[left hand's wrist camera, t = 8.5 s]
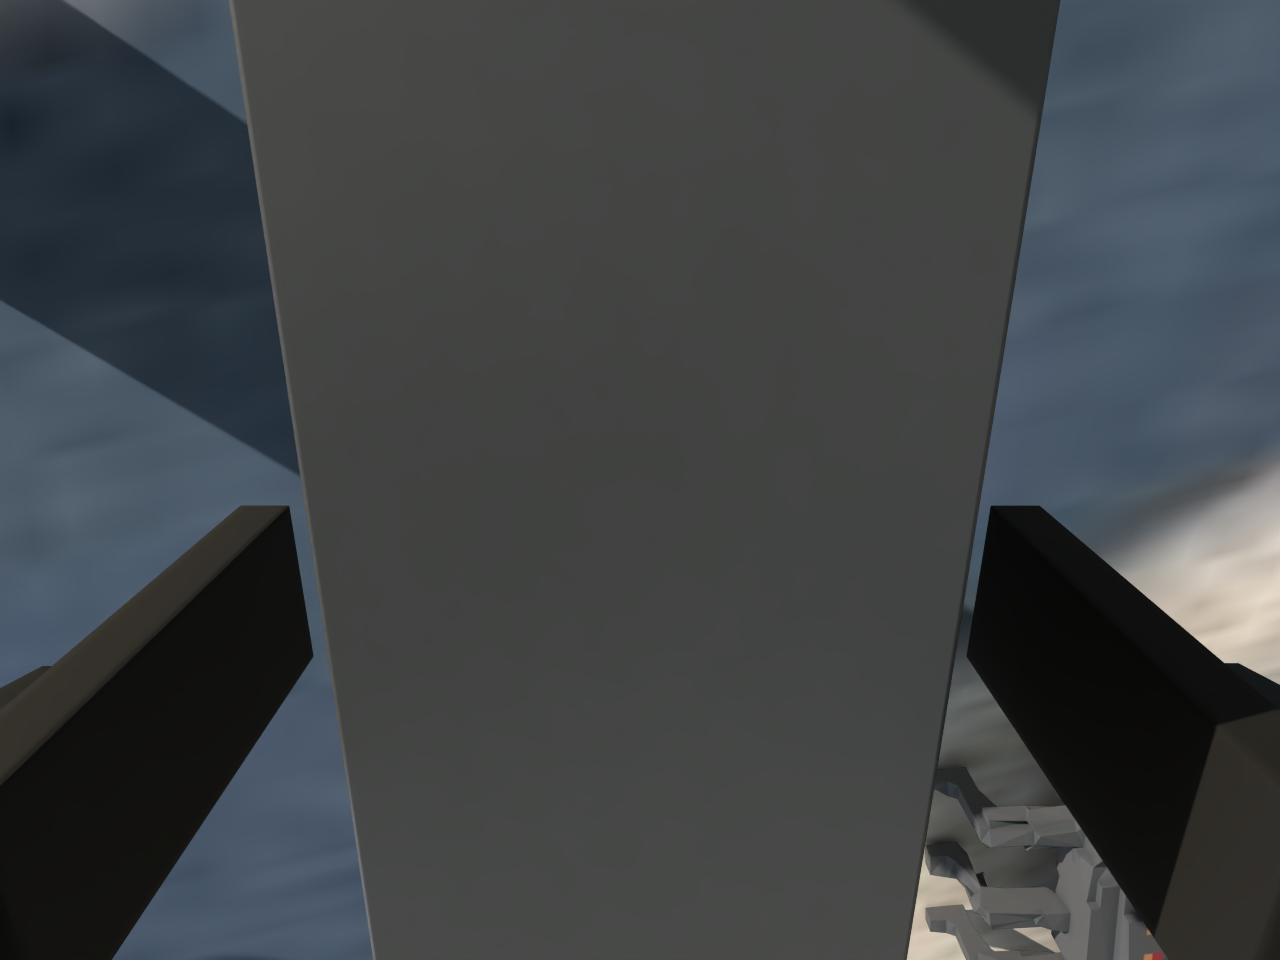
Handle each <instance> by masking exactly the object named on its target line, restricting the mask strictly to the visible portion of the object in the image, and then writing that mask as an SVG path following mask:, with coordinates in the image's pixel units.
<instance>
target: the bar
mask: <svg viewBox="0 0 1280 960" xmlns="http://www.w3.org/2000/svg"><path fill="white" fill-rule="evenodd" d="M1059 5H1060V0H229V6H230V12H231V19H232V26H233V32H234V39H235V46H236V52H237V59H238V65H239V72H240V79H241V85H242V92H243V99H244V105H245V112H246V118H247V125H248V132H249V138H250V145H251V152H252V158H253V165H254V171H255V178H256V185H257V191H258V198H259V205H260V211H261V218H262V224H263V231H264V238H265V244H266V251H267V258H268V264H269V271H270V278H271V284H272V291H273V297H274V304H275V311H276V317H277V324H278V331H279V337H280V344H281V350H282V357H283V364H284V370H285V377H286V384H287V390H288V397H289V403H290V410H291V417H292V423H293V430H294V437H295V443H296V450H297V456H298V463H299V470H300V476H301V483H302V490H303V496H304V503H305V509H306V516H307V523H308V529H309V536H310V543H311V549H312V556H313V563H314V569H315V576H316V582H317V589H318V596H319V602H320V609H321V616H322V622H323V629H324V635H325V642H326V649H327V655H328V662H329V669H330V675H331V682H332V688H333V695H334V702H335V708H336V715H337V722H338V728H339V735H340V741H341V748H342V755H343V761H344V768H345V775H346V781H347V788H348V794H349V801H350V808H351V814H352V821H353V828H354V834H355V841H356V848H357V854H358V861H359V867H360V874H361V881H362V887H363V894H364V901H365V907H366V914H367V920H368V927H369V934H370V940H371V947H372V954H373V960H907V954H908V948H909V941H910V935H911V929H912V923H913V916H914V910H915V904H916V898H917V891H918V885H919V879H920V873H921V866H922V860H923V854H924V848H925V841H926V835H927V829H928V823H929V816H930V810H931V804H932V798H933V792H934V785H935V779H936V773H937V767H938V760H939V754H940V748H941V742H942V735H943V729H944V723H945V717H946V710H947V704H948V698H949V692H950V685H951V679H952V673H953V667H954V660H955V654H956V648H957V642H958V635H959V629H960V623H961V617H962V610H963V604H964V598H965V592H966V585H967V579H968V573H969V567H970V560H971V554H972V548H973V542H974V535H975V529H976V523H977V517H978V511H979V504H980V498H981V492H982V486H983V479H984V473H985V467H986V461H987V454H988V448H989V442H990V436H991V429H992V423H993V417H994V411H995V404H996V398H997V392H998V386H999V379H1000V373H1001V367H1002V361H1003V354H1004V348H1005V342H1006V336H1007V329H1008V323H1009V317H1010V311H1011V304H1012V298H1013V292H1014V286H1015V279H1016V273H1017V267H1018V261H1019V254H1020V248H1021V242H1022V236H1023V230H1024V223H1025V217H1026V211H1027V205H1028V198H1029V192H1030V186H1031V180H1032V173H1033V167H1034V161H1035V155H1036V148H1037V142H1038V136H1039V130H1040V123H1041V117H1042V111H1043V105H1044V98H1045V92H1046V86H1047V80H1048V73H1049V67H1050V61H1051V55H1052V48H1053V42H1054V36H1055V30H1056V23H1057V17H1058V11H1059Z"/></svg>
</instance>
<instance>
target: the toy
mask: <svg viewBox="0 0 1280 960" xmlns="http://www.w3.org/2000/svg"><path fill="white" fill-rule="evenodd" d="M934 789H936V790H938V791H939V792H941V793H943V794H945V795H947V796H950V797H954V798H958V800H959V802H960V804H961V806H962V807H963V809H964V811H965V813H966V815H967V817H968V818H969V820H970V822H971V824H972V826H973V828H974V829H975V831H976V833H977V835H978V837H979V839H980V840H981V842H982V843H983V844H984V845H985V846H987V847H988V848H989V847H991V848H994V847H1010V846H1024V847H1025V849H1026V851H1031V850H1038V849H1046V848H1053V847H1058V854H1057V863H1056V868H1057V871H1058V874H1059V879H1058V883H1057V887H1056V890H1055V892H1054V891H1052V890H1050V889H1049V888H1047V887H1032V888H995V887H989V886H988V883H987V880H986V877H985V875H984V872H981V873H979V874H975V872H974V869H973V867H972V864H971V862H970V860H969V857H968V855H967V853H966V852H965V851H964V850H963V849H962V848H961V847H960V846H959V845H958V843H957V842H953V843H942V844H932V845H925V863H926V865H927V868H928V870H929V873H930V875H935V876H942V877H948V878H955V879H957V880H958V881H959V882H960V883H961V884H962V885H963V886H964V888H965V889H966V892H967V895H968V897H969V900H970V903H971V905H972V908H973V910H974V912H975V913H977V914H979V915H980V916H981V917H982V918H983V919H984V920H985V921H986V922H987V924H988V925H989V926H990V927H991V928H992V929H1008V928H1027V927H1044V928H1047V929H1050V930H1052V932H1051V934H1052V936H1053V938H1054V940H1055V942H1056V944H1057V945H1058V947H1059V949H1060V951H1061V952H1060V953H1051V952H1049V951H993V950H992V949H991V948H990V947H989V946H988V945H987V943H986V942H985V941H984V940H983V939H982V937H981V936H980V935H979V934H978V933H977V931H976V930H975V928H974V926H973V924H972V922H971V920H970V918H969V916H968V914H967V912H966V910H965V908H964V906H963V905H952V906H941V907H930V908H926V921H927V924H928V927H929V929H930V932H942V933H948V934H951V935H954V936H956V938H957V940H958V942H959V945H960V947H961V949H962V951H963V954H964V956H965V958H966V960H1168V958H1167V957H1166V955H1165V954H1164V952H1163V951H1162V949H1161V948H1160V946H1159V945H1158V943H1157V942H1156V940H1155V939H1154V937H1153V936H1152V934H1151V933H1150V931H1149V930H1148V928H1147V927H1146V925H1145V924H1144V922H1143V921H1142V919H1141V918H1140V916H1139V915H1138V913H1137V912H1136V910H1135V909H1134V907H1133V906H1132V904H1131V903H1130V901H1129V900H1128V898H1127V897H1126V895H1125V894H1124V892H1123V891H1122V889H1121V888H1120V886H1119V885H1118V883H1117V882H1116V880H1115V879H1114V877H1113V876H1112V874H1111V873H1110V871H1109V870H1108V868H1107V867H1106V865H1105V864H1104V862H1103V861H1102V859H1101V858H1100V856H1099V855H1098V853H1097V852H1096V850H1095V849H1094V847H1093V846H1092V844H1091V843H1090V841H1089V840H1088V838H1087V837H1086V835H1085V834H1084V832H1083V831H1082V829H1081V828H1080V826H1079V825H1078V823H1077V822H1076V820H1075V819H1074V817H1073V816H1072V814H1071V813H1070V811H1069V810H1068V808H1067V807H1066V805H1062V806H1055V807H1048V806H1027V805H1024V806H1006V807H997V806H995V805H994V804H993V803H992V802H991V801H990V800H989V799H988V798H987V797H986V796H985V795H984V794H982V793H981V792H980V791H979V790H978V788H977V787H976V785H975V783H974V781H973V780H972V778H971V776H970V774H969V773H968V771H967V769H966V767H963V768H953V769H943V770H937V773H936V779H935V785H934Z"/></svg>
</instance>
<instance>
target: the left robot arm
mask: <svg viewBox="0 0 1280 960" xmlns="http://www.w3.org/2000/svg"><path fill="white" fill-rule="evenodd" d="M312 658H313V650H312V644H311V638H310V632H309V626H308V619H307V613H306V607H305V601H304V595H303V589H302V582H301V576H300V570H299V564H298V558H297V551H296V545H295V539H294V533H293V527H292V520H291V514H290V508H289V506H240V507H238V508H237V509H236V510H235V511H234V512H233V513H231V514H230V515H229V516H228V517H227V518H226V519H224V520H223V521H222V522H221V523H220V524H218V525H217V526H216V527H215V528H214V529H213V530H211V531H210V532H209V533H208V534H207V535H206V536H204V537H203V538H202V539H201V540H200V541H199V542H197V543H196V544H195V545H194V546H193V547H191V548H190V549H189V550H188V551H187V552H186V553H184V554H183V555H182V556H181V557H180V558H179V559H177V560H176V561H175V562H174V563H173V564H172V565H170V566H169V567H168V568H167V569H166V570H164V571H163V572H162V573H161V574H160V575H159V576H157V577H156V578H155V579H154V580H153V581H152V582H150V583H149V584H148V585H147V586H146V587H145V588H143V589H142V590H141V591H140V592H139V593H137V594H136V595H135V596H134V597H133V598H132V599H130V600H129V601H128V602H127V603H126V604H125V605H123V606H122V607H121V608H120V609H119V610H118V611H116V612H115V613H114V614H113V615H112V616H111V617H109V618H108V619H107V620H106V621H105V622H103V623H102V624H101V625H100V626H99V627H98V628H96V629H95V630H94V631H93V632H92V633H91V634H89V635H88V636H87V637H86V638H85V639H84V640H82V641H81V642H80V643H79V644H78V645H76V646H75V647H74V648H73V649H72V650H71V651H69V652H68V653H67V654H66V655H65V656H64V657H62V658H61V659H60V660H59V661H58V662H57V663H55V664H54V665H53V666H42V667H40V668H38V669H36V670H34V671H32V672H30V673H29V674H27V675H25V676H23V677H21V678H19V679H17V680H15V681H13V682H11V683H9V684H8V685H6V686H4V687H2V688H0V960H112V958H113V957H114V955H115V954H116V952H117V951H118V949H119V948H120V946H121V945H122V943H123V942H124V940H125V939H126V937H127V936H128V934H129V933H130V931H131V930H132V928H133V927H134V925H135V924H136V922H137V921H138V919H139V918H140V916H141V915H142V913H143V912H144V910H145V909H146V907H147V906H148V904H149V903H150V901H151V900H152V898H153V897H154V895H155V894H156V892H157V891H158V889H159V888H160V886H161V885H162V883H163V882H164V880H165V879H166V877H167V876H168V874H169V873H170V871H171V870H172V868H173V867H174V865H175V864H176V862H177V861H178V859H179V858H180V856H181V855H182V853H183V852H184V850H185V849H186V847H187V846H188V844H189V843H190V841H191V840H192V838H193V837H194V835H195V834H196V832H197V831H198V829H199V828H200V826H201V825H202V823H203V822H204V820H205V819H206V817H207V816H208V814H209V813H210V811H211V810H212V808H213V807H214V805H215V804H216V802H217V801H218V799H219V798H220V796H221V795H222V793H223V792H224V790H225V789H226V787H227V786H228V784H229V783H230V781H231V780H232V778H233V777H234V775H235V774H236V772H237V771H238V769H239V768H240V766H241V765H242V763H243V762H244V760H245V759H246V757H247V756H248V754H249V752H250V751H251V749H252V748H253V746H254V745H255V743H256V742H257V740H258V739H259V737H260V736H261V734H262V733H263V731H264V730H265V728H266V727H267V725H268V724H269V722H270V721H271V719H272V718H273V716H274V715H275V713H276V712H277V710H278V709H279V707H280V706H281V704H282V703H283V701H284V700H285V698H286V697H287V695H288V694H289V692H290V691H291V689H292V688H293V686H294V685H295V683H296V682H297V680H298V679H299V677H300V676H301V674H302V673H303V671H304V670H305V668H306V667H307V665H308V664H309V662H310V661H311V659H312ZM967 658H968V659H969V661H970V662H971V664H972V665H973V667H974V668H975V670H976V671H977V673H978V674H979V676H980V677H981V679H982V680H983V682H984V683H985V685H986V686H987V688H988V689H989V691H990V692H991V694H992V695H993V697H994V698H995V700H996V701H997V703H998V704H999V706H1000V707H1001V709H1002V710H1003V712H1004V713H1005V715H1006V716H1007V718H1008V719H1009V721H1010V722H1011V724H1012V725H1013V727H1014V728H1015V730H1016V731H1017V733H1018V734H1019V736H1020V737H1021V739H1022V740H1023V742H1024V743H1025V745H1026V746H1027V748H1028V749H1029V751H1030V752H1031V754H1032V755H1033V757H1034V758H1035V760H1036V761H1037V763H1038V765H1039V766H1040V768H1041V769H1042V771H1043V772H1044V774H1045V775H1046V777H1047V778H1048V780H1049V781H1050V783H1051V784H1052V786H1053V787H1054V789H1055V790H1056V792H1057V793H1058V795H1059V796H1060V798H1061V799H1062V801H1063V802H1064V804H1065V805H1066V807H1067V808H1068V810H1069V811H1070V813H1071V814H1072V816H1073V817H1074V819H1075V820H1076V822H1077V823H1078V825H1079V826H1080V828H1081V829H1082V831H1083V832H1084V834H1085V835H1086V837H1087V838H1088V840H1089V841H1090V843H1091V844H1092V846H1093V847H1094V849H1095V850H1096V852H1097V853H1098V855H1099V856H1100V858H1101V859H1102V861H1103V862H1104V864H1105V865H1106V867H1107V868H1108V870H1109V871H1110V873H1111V874H1112V876H1113V877H1114V879H1115V880H1116V882H1117V883H1118V885H1119V886H1120V888H1121V889H1122V891H1123V892H1124V894H1125V895H1126V897H1127V898H1128V900H1129V901H1130V903H1131V904H1132V906H1133V907H1134V909H1135V910H1136V912H1137V913H1138V915H1139V916H1140V918H1141V919H1142V921H1143V922H1144V924H1145V925H1146V927H1147V928H1148V930H1149V931H1150V933H1151V934H1152V936H1153V937H1154V939H1155V940H1156V942H1157V943H1158V945H1159V946H1160V948H1161V949H1162V951H1163V952H1164V954H1165V955H1166V957H1167V958H1168V960H1280V685H1279V684H1277V683H1275V682H1273V681H1271V680H1269V679H1268V678H1266V677H1264V676H1262V675H1260V674H1258V673H1256V672H1254V671H1252V670H1250V669H1248V668H1246V667H1245V666H1243V665H1241V664H1239V663H1224V662H1222V661H1221V660H1220V659H1219V658H1218V657H1216V656H1215V655H1214V654H1213V653H1212V652H1211V651H1209V650H1208V649H1207V648H1206V647H1205V646H1204V645H1202V644H1201V643H1200V642H1199V641H1198V640H1197V639H1195V638H1194V637H1193V636H1192V635H1191V634H1189V633H1188V632H1187V631H1186V630H1185V629H1184V628H1182V627H1181V626H1180V625H1179V624H1178V623H1177V622H1175V621H1174V620H1173V619H1172V618H1171V617H1170V616H1168V615H1167V614H1166V613H1165V612H1164V611H1162V610H1161V609H1160V608H1159V607H1158V606H1157V605H1155V604H1154V603H1153V602H1152V601H1151V600H1150V599H1148V598H1147V597H1146V596H1145V595H1144V594H1143V593H1141V592H1140V591H1139V590H1138V589H1137V588H1135V587H1134V586H1133V585H1132V584H1131V583H1130V582H1128V581H1127V580H1126V579H1125V578H1124V577H1123V576H1121V575H1120V574H1119V573H1118V572H1117V571H1116V570H1114V569H1113V568H1112V567H1111V566H1110V565H1108V564H1107V563H1106V562H1105V561H1104V560H1103V559H1101V558H1100V557H1099V556H1098V555H1097V554H1096V553H1094V552H1093V551H1092V550H1091V549H1090V548H1089V547H1087V546H1086V545H1085V544H1084V543H1083V542H1081V541H1080V540H1079V539H1078V538H1077V537H1076V536H1074V535H1073V534H1072V533H1071V532H1070V531H1069V530H1067V529H1066V528H1065V527H1064V526H1063V525H1062V524H1060V523H1059V522H1058V521H1057V520H1056V519H1054V518H1053V517H1052V516H1051V515H1050V514H1049V513H1047V512H1046V511H1045V510H1044V509H1043V508H1042V507H1040V506H991V508H990V514H989V521H988V527H987V533H986V539H985V545H984V551H983V558H982V564H981V570H980V576H979V582H978V589H977V595H976V601H975V607H974V613H973V620H972V626H971V632H970V638H969V644H968V650H967Z"/></svg>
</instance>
